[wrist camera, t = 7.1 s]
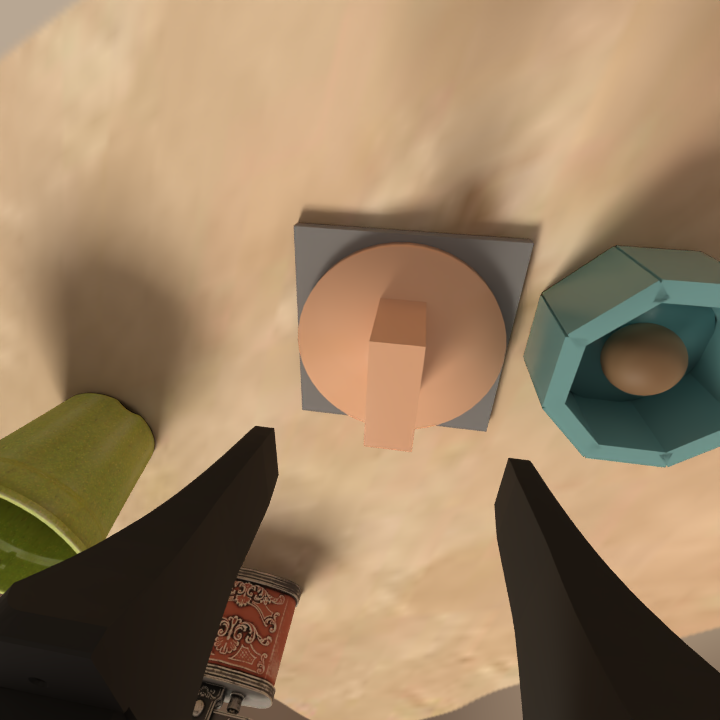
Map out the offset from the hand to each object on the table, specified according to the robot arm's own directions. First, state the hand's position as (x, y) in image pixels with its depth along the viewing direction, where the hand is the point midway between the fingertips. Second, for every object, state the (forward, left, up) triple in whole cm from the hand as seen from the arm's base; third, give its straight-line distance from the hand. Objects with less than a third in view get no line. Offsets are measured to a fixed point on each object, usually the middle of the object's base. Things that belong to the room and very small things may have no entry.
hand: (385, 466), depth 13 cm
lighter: (+10, +24, -9) cm, 28 cm away
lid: (0, 0, -8) cm, 8 cm away
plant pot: (+18, +9, -9) cm, 22 cm away
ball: (-10, -1, -8) cm, 13 cm away
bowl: (-10, -1, -9) cm, 13 cm away
